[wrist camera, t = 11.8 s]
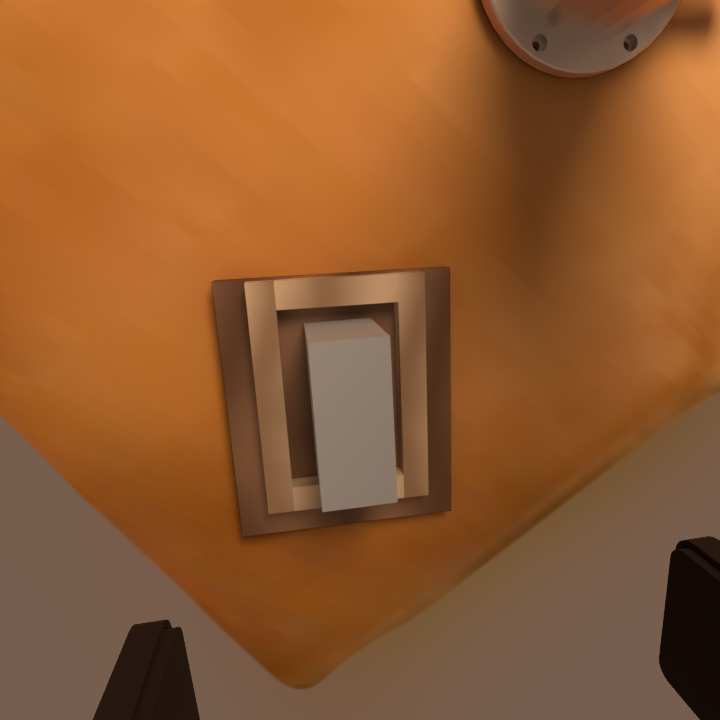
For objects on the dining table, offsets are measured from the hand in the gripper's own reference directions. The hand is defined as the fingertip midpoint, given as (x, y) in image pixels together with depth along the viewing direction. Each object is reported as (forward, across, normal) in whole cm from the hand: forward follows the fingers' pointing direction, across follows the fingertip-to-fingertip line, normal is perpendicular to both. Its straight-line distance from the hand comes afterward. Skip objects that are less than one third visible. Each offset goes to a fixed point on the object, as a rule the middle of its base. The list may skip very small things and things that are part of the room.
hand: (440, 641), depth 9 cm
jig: (+23, 0, +3) cm, 23 cm away
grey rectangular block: (+21, 0, +2) cm, 22 cm away
